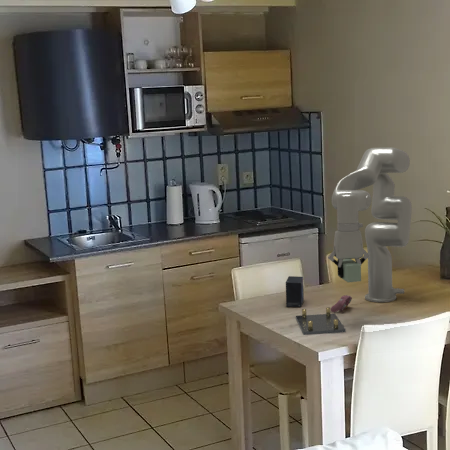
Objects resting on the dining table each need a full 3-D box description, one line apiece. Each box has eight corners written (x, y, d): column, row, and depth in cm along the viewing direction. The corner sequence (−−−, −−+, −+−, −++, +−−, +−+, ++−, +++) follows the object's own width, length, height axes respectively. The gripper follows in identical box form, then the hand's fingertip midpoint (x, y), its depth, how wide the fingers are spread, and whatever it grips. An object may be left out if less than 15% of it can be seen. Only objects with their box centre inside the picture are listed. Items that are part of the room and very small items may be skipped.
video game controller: (338, 317, 276) (346, 302, 273) (328, 311, 277) (336, 296, 275) (348, 310, 284) (355, 296, 281) (338, 304, 286) (345, 290, 283)
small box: (302, 307, 286) (301, 282, 284) (285, 307, 287) (284, 282, 285) (304, 300, 296) (303, 275, 294) (288, 300, 297) (287, 275, 296)
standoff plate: (335, 315, 272) (334, 305, 271) (345, 332, 252) (345, 321, 252) (295, 318, 272) (295, 308, 271) (303, 334, 252) (303, 323, 251)
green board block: (350, 274, 265) (350, 258, 264) (361, 281, 254) (360, 264, 253) (337, 275, 264) (337, 259, 263) (347, 282, 254) (347, 265, 253)
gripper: (368, 224, 261) (369, 273, 263) (322, 227, 260) (323, 275, 262) (374, 227, 253) (375, 277, 256) (326, 230, 252) (327, 280, 255)
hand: (349, 276), depth 259 cm, fingers closed on green board block, 5 cm apart
